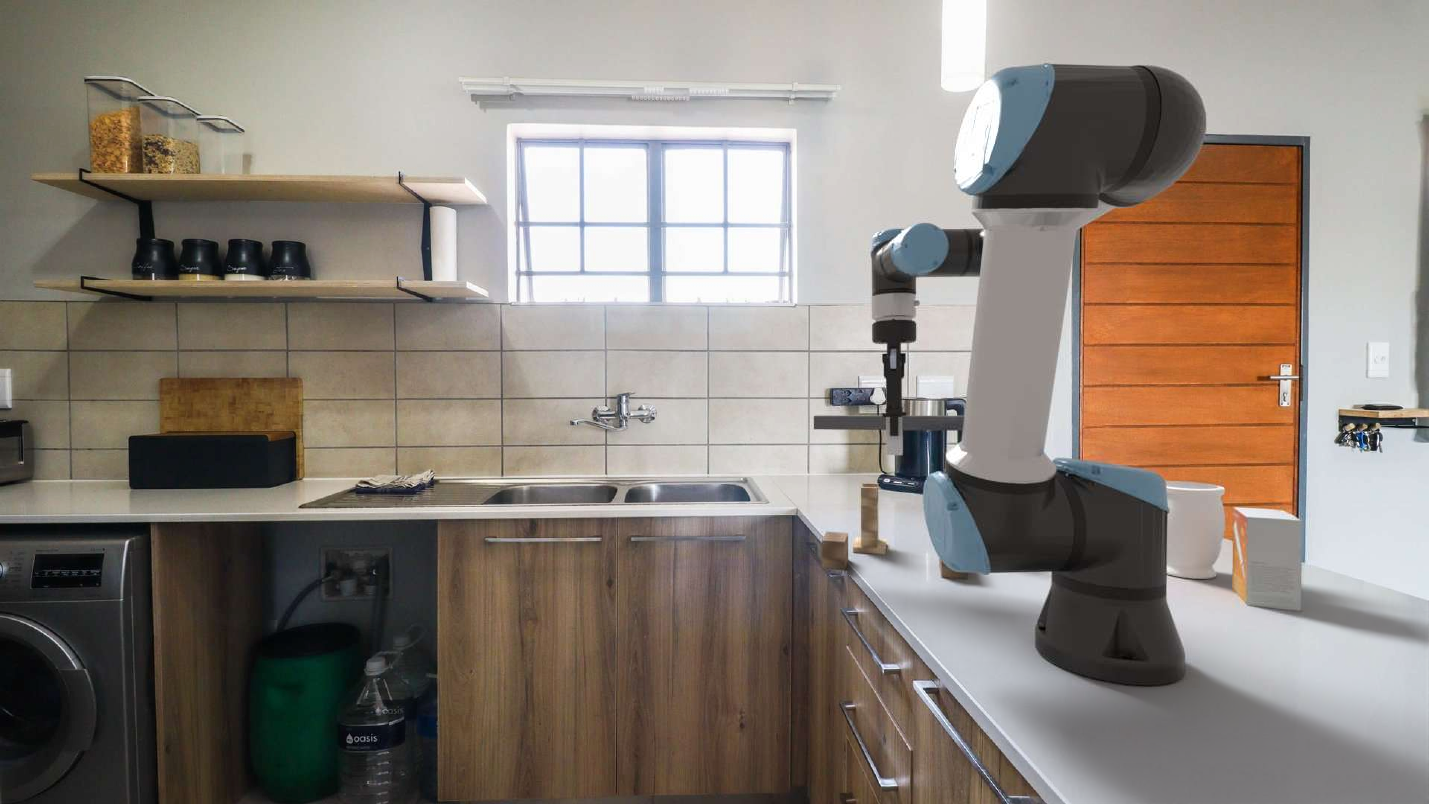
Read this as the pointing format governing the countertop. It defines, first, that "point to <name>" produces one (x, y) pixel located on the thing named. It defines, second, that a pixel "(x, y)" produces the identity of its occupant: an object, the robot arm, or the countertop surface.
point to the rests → (838, 555)
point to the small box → (1267, 558)
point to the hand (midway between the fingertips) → (894, 453)
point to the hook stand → (869, 522)
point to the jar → (1194, 528)
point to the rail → (880, 422)
